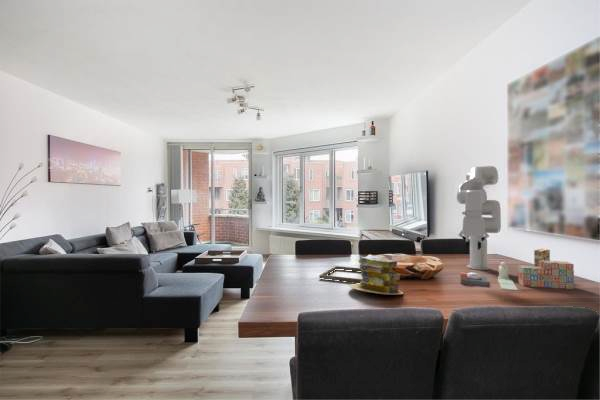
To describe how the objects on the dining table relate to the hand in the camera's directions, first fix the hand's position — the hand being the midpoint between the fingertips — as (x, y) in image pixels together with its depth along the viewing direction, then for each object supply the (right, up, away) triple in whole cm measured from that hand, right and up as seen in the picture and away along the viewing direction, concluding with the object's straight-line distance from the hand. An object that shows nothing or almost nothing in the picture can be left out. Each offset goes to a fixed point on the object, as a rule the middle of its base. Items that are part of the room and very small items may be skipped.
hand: (473, 249), depth 171 cm
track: (+14, -17, -5) cm, 23 cm away
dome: (0, -15, 0) cm, 15 cm away
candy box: (+42, -17, +9) cm, 46 cm away
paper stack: (-55, -18, -17) cm, 60 cm away
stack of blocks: (+32, -18, -7) cm, 37 cm away
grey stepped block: (0, -17, 0) cm, 17 cm away
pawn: (+21, -17, +8) cm, 28 cm away
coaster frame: (-62, -18, +14) cm, 66 cm away
